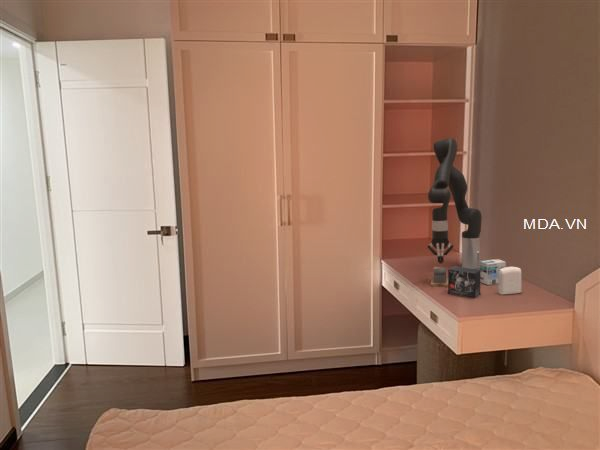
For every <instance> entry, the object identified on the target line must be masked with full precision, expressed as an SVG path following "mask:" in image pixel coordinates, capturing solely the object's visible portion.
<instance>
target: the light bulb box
mask: <svg viewBox="0 0 600 450" xmlns="http://www.w3.org/2000/svg"><path fill="white" fill-rule="evenodd" d="M505 267H507V262H506V261H504V260H501V259H499V258H494V259H487V260H480V268H479V270H481V278H480V283H481V284H484V285H487V286H490V285H496V284H498V272H499V270H500V269H502V268H505Z"/></svg>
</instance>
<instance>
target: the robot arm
mask: <svg viewBox="0 0 600 450" xmlns="http://www.w3.org/2000/svg"><path fill="white" fill-rule="evenodd" d="M433 151H434V155H435V157H436V158H437V161H438V163H439V166H438V167H437V168H436V171H435V173H434V174H435V175H434V181H433V183H432V186H431V188H430V189H429V191H428V195H427V199H428V201H429V203H431V204H442V205H441V206H440V207H436V208H433V209H432V211H431V212H432V213H431V217H432V219H431V221H432V223H431V238H432V239H431V242H430V243H429V244H427V248H428V249H429V251H430V252H431V254H433V255H434V256H437V262H438V264H443V263H444V262H445V261H444V256H447V255H448V254H449V253H450V252H451V250H452V249H453V248H454V244H452V243H451V242H450V240H449V223H448V210H449V209H448V208H449V203H450V200H451V197H452V199H453V203H454V205H455V210H456V213H457V217H458V220H459V222H460V223H461V224H463V225H467V229H466V230H463V231H462V232H461V267H464V268H470V269H477V270H480V261H481V259H480V258H481V255H480V254H481V253H480V235H481V232H482V219H483V217H482V211H480V210H479V209H477V208H472V207H469V205H468V204H467V203H468V202H467V201H466V199H467V198H466V196H467V193H468V184H467V181H466V177H465V175H464V174H463V173H462V171H460V170H459V168H457V167H455V166H453V165H454V162H455V159H456V156H457V153H458V143H457V141H456V139H455V138H454V137H447V138H443V139H439V140H437V141H434V142H433ZM433 247H434V248H435V249H436V250H435V249H434V248H433ZM446 248H447V249H446ZM445 249H446V250H445Z"/></svg>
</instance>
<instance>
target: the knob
mask: <svg viewBox="0 0 600 450" xmlns="http://www.w3.org/2000/svg"><path fill="white" fill-rule="evenodd" d="M433 278H434V283H446V278H447V268H446V267H443V266H438V267H437V266H434V267H433Z"/></svg>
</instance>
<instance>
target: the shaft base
mask: <svg viewBox="0 0 600 450" xmlns="http://www.w3.org/2000/svg"><path fill="white" fill-rule="evenodd" d="M429 286H430V287H437V288H438V287H439V288H440V287H441V288H442V287H444V288H448V277H446V283H434V277H430V285H429Z"/></svg>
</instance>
